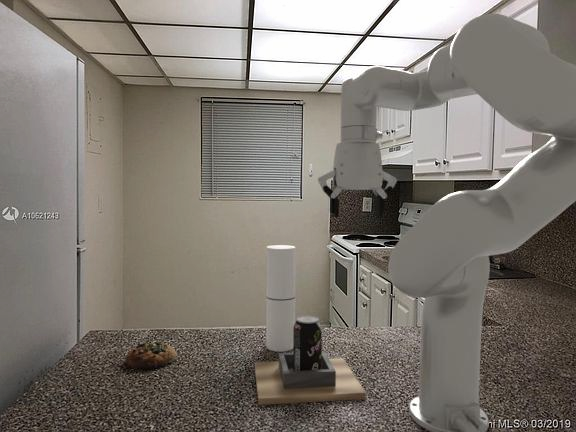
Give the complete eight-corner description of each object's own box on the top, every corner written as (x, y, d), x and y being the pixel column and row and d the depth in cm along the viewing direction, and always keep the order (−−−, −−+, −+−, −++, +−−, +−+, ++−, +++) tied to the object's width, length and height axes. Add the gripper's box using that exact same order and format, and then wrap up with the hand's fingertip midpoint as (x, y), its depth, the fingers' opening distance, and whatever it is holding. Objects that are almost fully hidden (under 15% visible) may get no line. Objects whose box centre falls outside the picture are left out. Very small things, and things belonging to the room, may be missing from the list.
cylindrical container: (269, 352, 99) (270, 249, 97) (263, 342, 106) (263, 245, 104) (298, 349, 101) (299, 248, 99) (290, 339, 108) (291, 244, 106)
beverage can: (323, 371, 86) (324, 315, 85) (318, 384, 80) (319, 323, 80) (296, 368, 87) (296, 312, 86) (290, 380, 82) (290, 321, 81)
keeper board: (365, 398, 77) (365, 376, 77) (258, 404, 75) (258, 382, 74) (343, 363, 93) (343, 345, 93) (254, 367, 90) (254, 348, 90)
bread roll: (124, 374, 87) (125, 349, 87) (125, 361, 97) (125, 339, 98) (179, 368, 91) (179, 345, 91) (173, 356, 101) (174, 335, 102)
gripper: (390, 140, 93) (388, 215, 94) (315, 138, 91) (314, 215, 92) (403, 135, 86) (402, 217, 87) (322, 133, 83) (321, 218, 85)
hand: (357, 216), depth 89 cm, fingers open, 9 cm apart
